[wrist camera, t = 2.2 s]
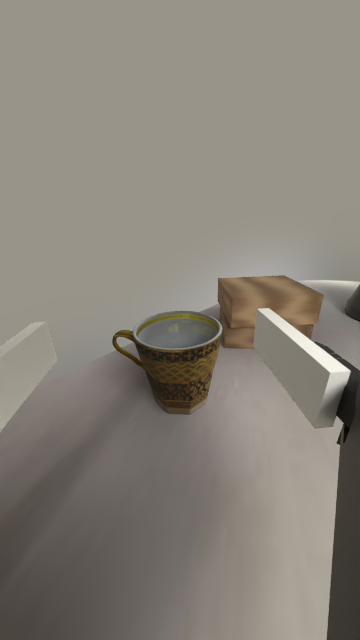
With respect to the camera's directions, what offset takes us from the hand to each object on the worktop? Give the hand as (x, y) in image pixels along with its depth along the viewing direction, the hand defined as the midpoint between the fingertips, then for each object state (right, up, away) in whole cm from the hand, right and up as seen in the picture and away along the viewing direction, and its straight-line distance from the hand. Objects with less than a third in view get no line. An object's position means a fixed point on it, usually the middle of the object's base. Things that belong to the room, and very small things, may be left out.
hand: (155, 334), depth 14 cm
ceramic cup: (0, -9, +15) cm, 18 cm away
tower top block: (+17, +3, +28) cm, 33 cm away
